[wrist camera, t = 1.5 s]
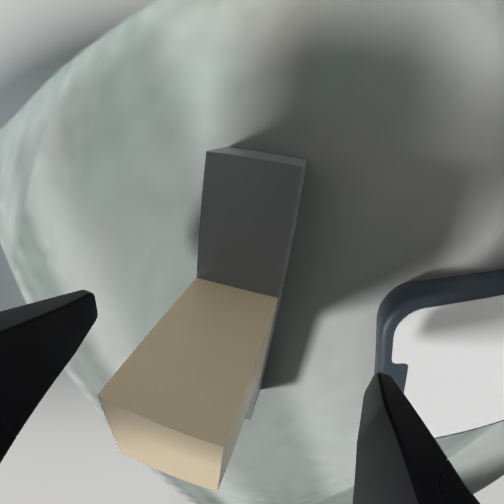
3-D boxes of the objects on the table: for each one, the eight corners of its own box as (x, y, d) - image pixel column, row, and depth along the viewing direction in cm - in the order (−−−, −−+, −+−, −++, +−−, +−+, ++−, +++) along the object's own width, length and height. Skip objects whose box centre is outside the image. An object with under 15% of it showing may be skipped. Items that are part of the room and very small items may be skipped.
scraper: (261, 387, 13) (213, 522, 7) (209, 372, 14) (143, 496, 7) (308, 159, 9) (254, 231, 3) (230, 146, 9) (56, 193, 3)
